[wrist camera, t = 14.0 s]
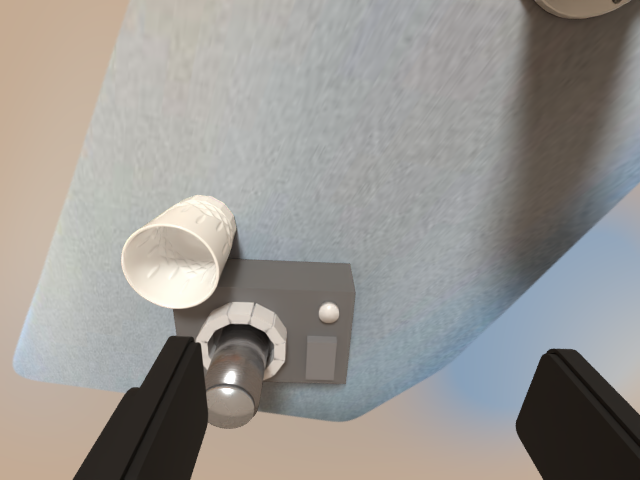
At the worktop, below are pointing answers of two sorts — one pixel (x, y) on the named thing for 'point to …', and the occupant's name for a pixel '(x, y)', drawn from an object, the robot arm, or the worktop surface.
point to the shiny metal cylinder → (236, 375)
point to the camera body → (281, 316)
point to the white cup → (180, 253)
